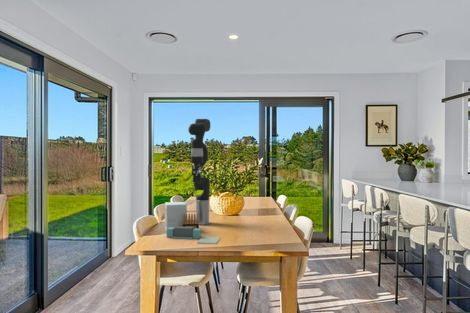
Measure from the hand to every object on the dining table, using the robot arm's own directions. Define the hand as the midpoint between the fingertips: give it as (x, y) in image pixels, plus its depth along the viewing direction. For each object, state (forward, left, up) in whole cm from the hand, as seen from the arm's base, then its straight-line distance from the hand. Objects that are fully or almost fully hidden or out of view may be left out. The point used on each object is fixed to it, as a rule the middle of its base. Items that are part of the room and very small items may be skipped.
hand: (196, 181), depth 203 cm
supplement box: (-12, -18, -33) cm, 40 cm away
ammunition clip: (-7, -6, -33) cm, 35 cm away
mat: (+13, +11, -33) cm, 37 cm away
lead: (+7, -6, -33) cm, 35 cm away
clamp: (+7, -6, -33) cm, 34 cm away
